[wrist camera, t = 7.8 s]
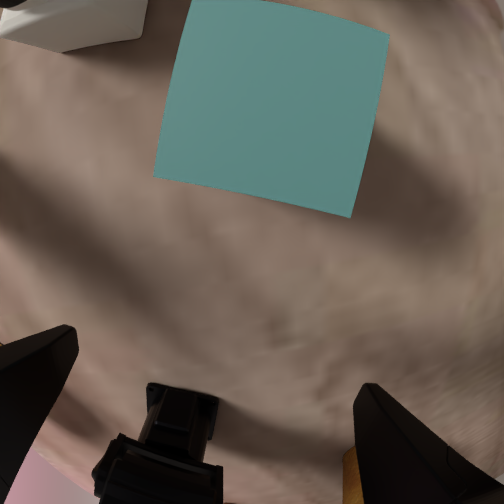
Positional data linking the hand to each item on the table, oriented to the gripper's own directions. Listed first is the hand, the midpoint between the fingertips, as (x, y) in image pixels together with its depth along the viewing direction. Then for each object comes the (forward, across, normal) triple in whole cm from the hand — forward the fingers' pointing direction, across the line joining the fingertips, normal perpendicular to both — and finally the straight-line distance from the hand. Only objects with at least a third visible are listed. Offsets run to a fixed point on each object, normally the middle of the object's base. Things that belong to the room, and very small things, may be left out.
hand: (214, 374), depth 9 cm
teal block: (+6, 0, -8) cm, 9 cm away
